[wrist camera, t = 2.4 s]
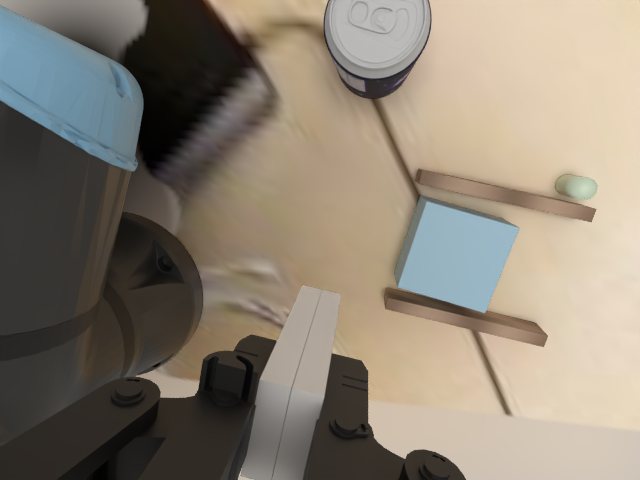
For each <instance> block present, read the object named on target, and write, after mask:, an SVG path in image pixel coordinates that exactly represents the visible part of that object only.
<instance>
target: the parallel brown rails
mask: <svg viewBox="0 0 640 480" xmlns="http://www.w3.org/2000/svg"><path fill="white" fill-rule="evenodd" d="M416 182H417V183H419V184H422V185H427V186H431V187H436V188H440V189H445V190H449V191H454V192H458V193H463V194H467V195H472V196H476V197H481V198H485V199H490V200H494V201H499V202H503V203H508V204H512V205H517V206H521V207H526V208H530V209H535V210H539V211H544V212H548V213H552V214H557V215H561V216H566V217H570V218H575V219H579V220H584V221H588V222H592V219H593V217H594V214H595V212H596V209H594V208H591V207H587V206H584V205H581V204H576V203H572V202H567V201H563V200H558V199H554V198H549V197H544V196H540V195H535V194H531V193H526V192H522V191H517V190H513V189H508V188H504V187H499V186H494V185H490V184H485V183H481V182H476V181H472V180H467V179H463V178H458V177H454V176H449V175H445V174H440V173H435V172H431V171H426V170H422V169H418V173H417V177H416ZM384 301H385V309H388V310H392V311H396V312H400V313H404V314H408V315H413V316H417V317H421V318H425V319H429V320H433V321H438V322H442V323H446V324H450V325H454V326H458V327H463V328H467V329H471V330H475V331H479V332H483V333H487V334H492V335H496V336H500V337H504V338H508V339H512V340H517V341H521V342H525V343H529V344H533V345H537V346H542V347H544V345H545V342H546V340H547V337H548V335H547V334H546V333H545V332H544V331H543V330H542V329H541V328H540V327H539V326H538V325H537V324H536V323H534V322H530V321H526V320H522V319H517V318H513V317H509V316H505V315H501V314H496V313H492V312H488V311H486V312H485V313H483V312H480V311H476V310H473V309H469V308H466V307H463V306H459V305H456V304H452V303H449V302H446V301H442V300H437V299H433V298H429V297H425V296H421V295H416V294H412V293H408V292H404V291H399V290H395V289H391V288H387V289H386V293H385V297H384Z"/></svg>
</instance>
